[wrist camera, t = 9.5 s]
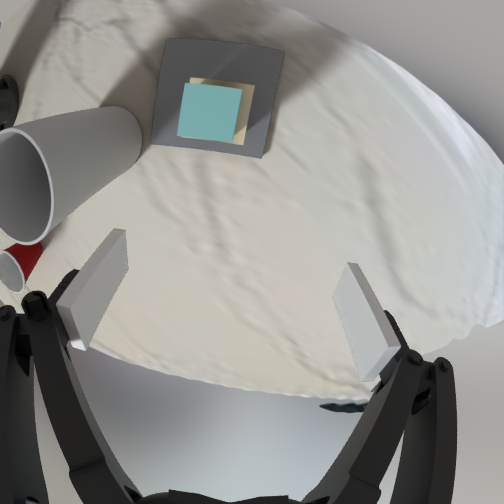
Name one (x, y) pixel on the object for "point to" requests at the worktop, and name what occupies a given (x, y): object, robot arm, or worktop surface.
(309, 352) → the worktop surface
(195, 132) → the teal block
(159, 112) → the slate board
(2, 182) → the cylinder vase
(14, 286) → the plastic cup
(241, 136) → the beech block
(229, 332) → the worktop surface
